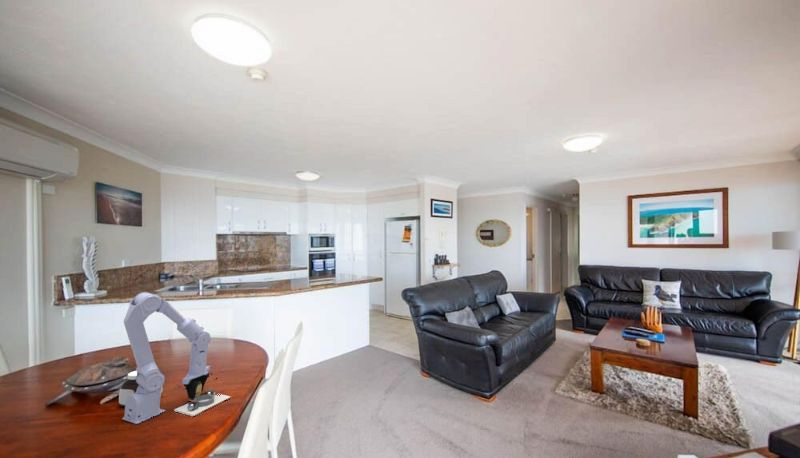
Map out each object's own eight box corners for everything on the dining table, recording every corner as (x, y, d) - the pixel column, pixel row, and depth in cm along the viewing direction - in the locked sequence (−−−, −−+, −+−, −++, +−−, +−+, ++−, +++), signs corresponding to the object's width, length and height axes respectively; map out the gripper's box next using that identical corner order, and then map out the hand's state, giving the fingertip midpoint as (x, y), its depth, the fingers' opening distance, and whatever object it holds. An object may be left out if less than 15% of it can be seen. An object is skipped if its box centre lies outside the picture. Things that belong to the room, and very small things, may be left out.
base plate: (193, 417, 111) (193, 410, 111) (173, 412, 114) (174, 405, 115) (230, 399, 126) (231, 392, 126) (212, 394, 130) (213, 388, 130)
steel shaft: (193, 406, 117) (194, 400, 117) (199, 407, 117) (200, 401, 117) (185, 410, 114) (186, 404, 114) (192, 411, 113) (193, 405, 114)
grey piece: (211, 398, 124) (212, 392, 124) (203, 398, 124) (204, 393, 124) (214, 394, 127) (215, 389, 128) (207, 395, 127) (207, 389, 127)
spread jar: (114, 409, 115) (117, 377, 116) (131, 396, 126) (134, 366, 127) (151, 406, 118) (155, 375, 119) (165, 393, 129) (168, 365, 130)
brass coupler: (193, 402, 122) (195, 385, 123) (186, 400, 123) (187, 383, 124) (202, 398, 126) (204, 381, 127) (195, 396, 127) (197, 380, 128)
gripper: (196, 367, 119) (193, 404, 118) (218, 355, 133) (215, 388, 132) (178, 367, 119) (174, 403, 118) (201, 355, 133) (198, 387, 132)
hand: (195, 395), depth 125 cm, fingers closed on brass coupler, 4 cm apart
